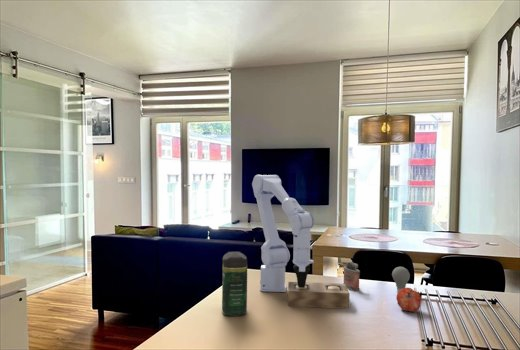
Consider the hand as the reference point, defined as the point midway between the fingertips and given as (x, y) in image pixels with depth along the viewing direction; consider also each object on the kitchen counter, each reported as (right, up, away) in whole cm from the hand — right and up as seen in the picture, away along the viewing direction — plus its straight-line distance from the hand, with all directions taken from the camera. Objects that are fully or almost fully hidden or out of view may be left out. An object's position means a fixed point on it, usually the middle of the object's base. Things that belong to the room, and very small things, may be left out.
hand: (301, 286), depth 122 cm
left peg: (0, -5, 0) cm, 5 cm away
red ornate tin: (+21, -5, +14) cm, 26 cm away
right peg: (+11, -5, -1) cm, 12 cm away
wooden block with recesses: (+5, -5, 0) cm, 7 cm away
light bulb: (+37, -5, +8) cm, 38 cm away
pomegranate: (+34, -5, -7) cm, 35 cm away
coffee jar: (-22, -5, -9) cm, 25 cm away
